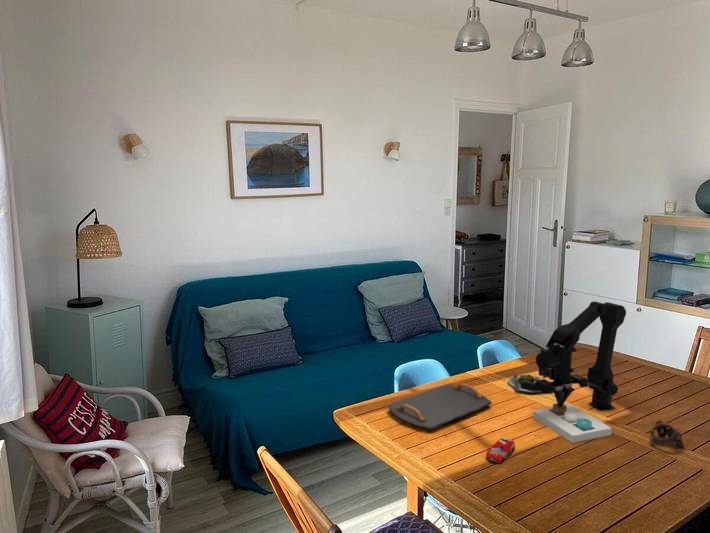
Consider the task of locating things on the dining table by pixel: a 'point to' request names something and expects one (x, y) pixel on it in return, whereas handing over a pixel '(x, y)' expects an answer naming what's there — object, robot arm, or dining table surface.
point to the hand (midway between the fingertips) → (560, 406)
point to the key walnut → (559, 409)
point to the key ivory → (571, 416)
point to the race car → (500, 450)
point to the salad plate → (525, 384)
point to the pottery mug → (662, 432)
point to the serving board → (439, 405)
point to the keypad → (572, 425)
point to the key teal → (584, 424)
